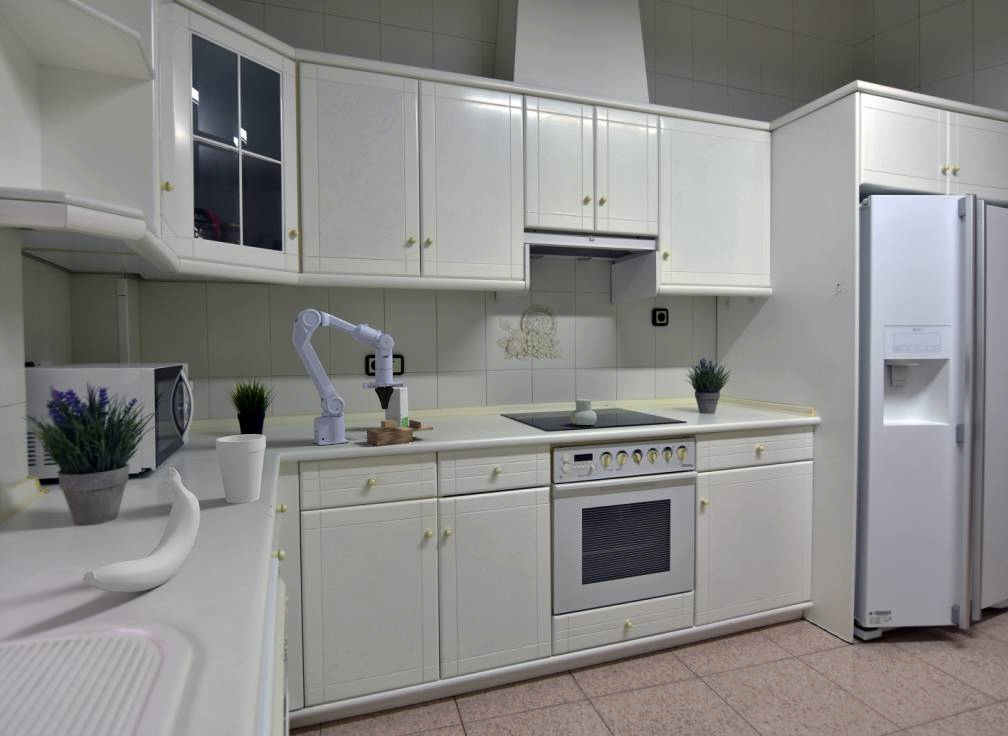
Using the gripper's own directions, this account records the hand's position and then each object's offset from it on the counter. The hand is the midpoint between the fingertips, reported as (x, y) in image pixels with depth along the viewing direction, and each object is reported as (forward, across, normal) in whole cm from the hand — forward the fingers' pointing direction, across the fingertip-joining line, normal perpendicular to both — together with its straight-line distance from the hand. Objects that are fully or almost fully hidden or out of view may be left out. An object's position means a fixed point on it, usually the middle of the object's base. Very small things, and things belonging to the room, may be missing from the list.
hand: (384, 409), depth 191 cm
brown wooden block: (+10, -2, -9) cm, 14 cm away
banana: (+10, -70, -91) cm, 116 cm away
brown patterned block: (+10, +2, +2) cm, 10 cm away
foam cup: (+10, -53, -53) cm, 76 cm away
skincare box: (+10, +11, +16) cm, 22 cm away
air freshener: (+10, +73, -19) cm, 76 cm away
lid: (+7, +6, -9) cm, 13 cm away
